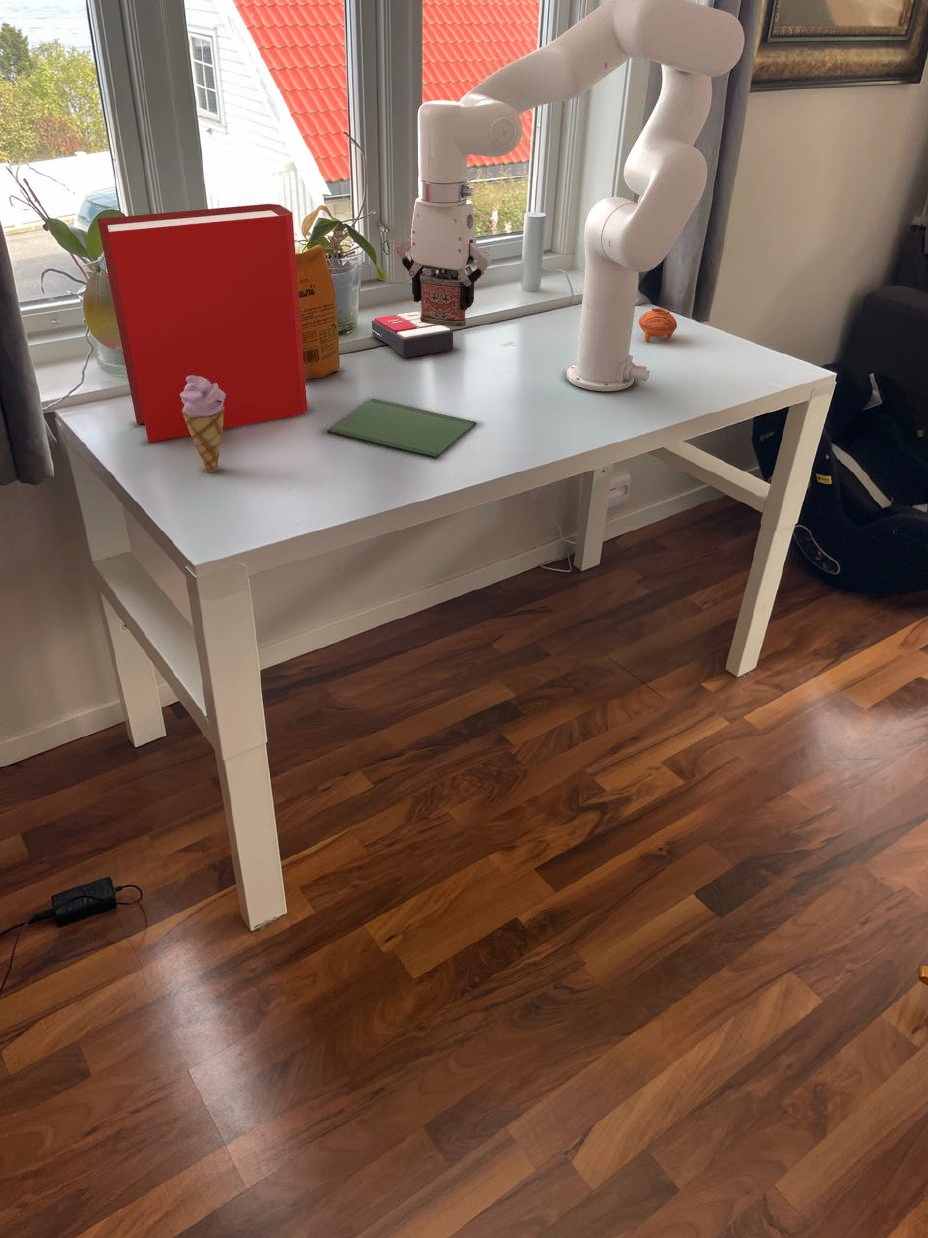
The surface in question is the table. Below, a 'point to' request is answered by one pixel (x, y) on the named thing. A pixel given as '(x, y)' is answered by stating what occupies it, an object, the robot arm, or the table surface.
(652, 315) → the pot
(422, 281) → the lighter
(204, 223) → the book
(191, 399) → the ice cream cone
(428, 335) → the card game box
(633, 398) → the table surface
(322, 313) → the coffee package
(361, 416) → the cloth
